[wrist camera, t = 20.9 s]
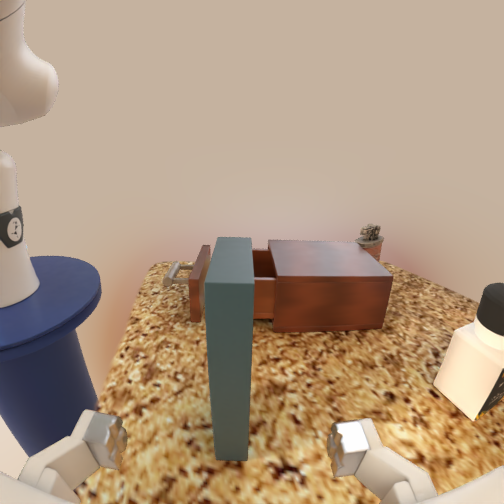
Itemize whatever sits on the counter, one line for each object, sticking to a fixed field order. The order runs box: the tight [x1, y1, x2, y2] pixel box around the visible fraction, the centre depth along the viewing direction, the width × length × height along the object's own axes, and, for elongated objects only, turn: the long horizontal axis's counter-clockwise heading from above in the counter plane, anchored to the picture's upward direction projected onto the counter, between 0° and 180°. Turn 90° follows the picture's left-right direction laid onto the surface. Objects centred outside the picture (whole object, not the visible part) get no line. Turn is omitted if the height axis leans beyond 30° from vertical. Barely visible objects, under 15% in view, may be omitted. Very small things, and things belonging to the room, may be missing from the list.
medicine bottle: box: [434, 283, 504, 421], centre depth 22 cm, size 7×7×12 cm
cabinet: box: [268, 240, 393, 332], centre depth 43 cm, size 15×15×8 cm
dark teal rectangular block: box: [204, 237, 255, 461], centre depth 21 cm, size 2×8×15 cm, turn 1°
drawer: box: [163, 245, 277, 322], centre depth 43 cm, size 18×13×6 cm
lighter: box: [355, 224, 384, 262], centre depth 53 cm, size 8×3×10 cm, turn 131°
